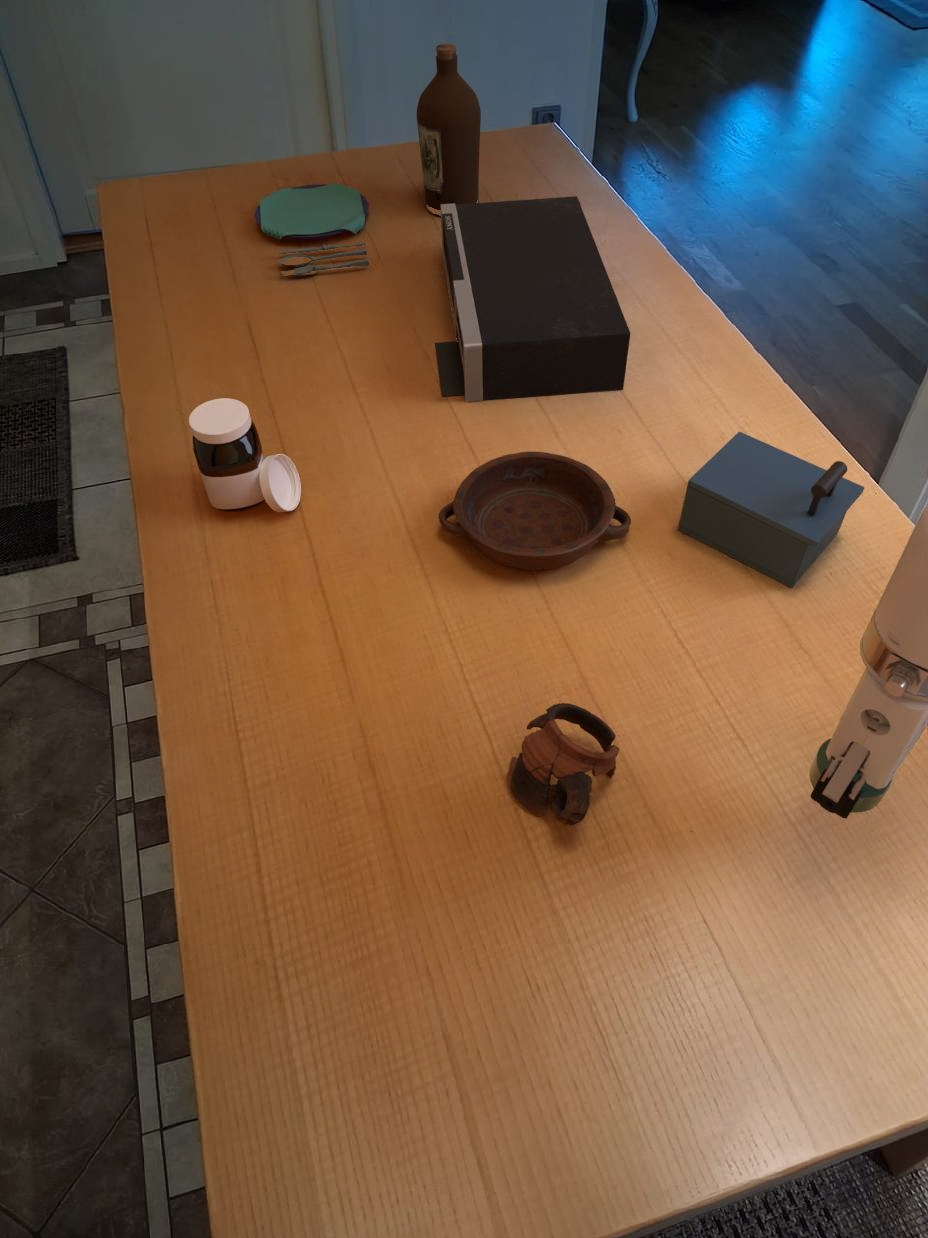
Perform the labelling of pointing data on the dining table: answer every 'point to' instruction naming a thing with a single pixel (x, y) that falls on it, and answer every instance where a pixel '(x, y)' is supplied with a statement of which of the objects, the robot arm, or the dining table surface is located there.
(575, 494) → the dish
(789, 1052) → the dining table surface
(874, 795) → the dark green puck
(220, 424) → the spread jar
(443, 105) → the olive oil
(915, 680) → the robot arm
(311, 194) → the cutlery set
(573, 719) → the brown hollow curved piece
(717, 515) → the lunchbox
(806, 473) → the lunchbox lid
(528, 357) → the video player
